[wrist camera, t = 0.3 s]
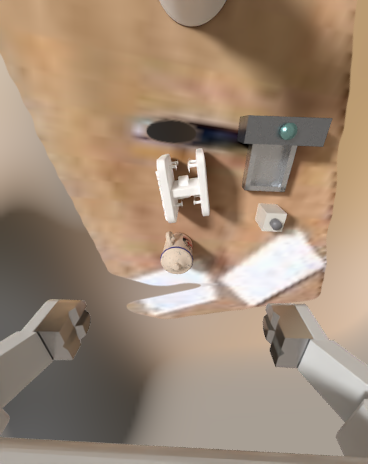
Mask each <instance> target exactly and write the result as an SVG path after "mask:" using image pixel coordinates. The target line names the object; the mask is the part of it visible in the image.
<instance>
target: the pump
mask: <svg viewBox="0 0 368 464" xmlns="http://www.w3.org/2000/svg"><path fill="white" fill-rule="evenodd" d="M286 216H287V213H286V212H285V211H284V210H282V209H281V208H280V207H279V206H278V205H277V204H264V203H259V204H258V208H257V213H256V217H255V220H256V222H257V224H258V225H259V227H260V228H261V230H262V231H275V232H282V229H283V226H284V223H285V220H286Z"/></svg>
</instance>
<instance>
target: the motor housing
mask: <svg viewBox="0 0 368 464" xmlns="http://www.w3.org/2000/svg"><path fill="white" fill-rule="evenodd" d="M331 121H332V118H307V117H279V116H251V115H248V116H243V117H240V122H239V129H238V136H237V141H239V142H241V143H244V144H249V146H248V152H247V158H246V163H245V169H244V175H243V181H242V188H243V189H244V190H251V191H274V192H285V189H286V185H287V181H288V178H289V174H290V171H291V167H292V164H293V160H294V156H295V153H296V149H297V146H320V147H323V145H324V142H325V139H326V136H327V133H328V130H329V127H330V124H331Z"/></svg>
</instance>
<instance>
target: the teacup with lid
mask: <svg viewBox="0 0 368 464" xmlns="http://www.w3.org/2000/svg"><path fill="white" fill-rule="evenodd" d="M161 264H162V266H163V268H164V269H165V270H166V271H168V272H170V273H173V274H182V273H185V272H187V271H188V270H189V269H190V268H191V266H192V264H193V257H192V241H191V239H190V238H189V237H188V236H187V235H185V234H182V233H175V234H173V233H172V232H171V231H169V232H167V233H166V242H165V246H164V250H163V253H162V255H161Z"/></svg>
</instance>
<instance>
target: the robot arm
mask: <svg viewBox="0 0 368 464" xmlns="http://www.w3.org/2000/svg"><path fill="white" fill-rule="evenodd" d="M159 1H160V3H161V5H162V7H163V8H164V10H165V11H166V12H167V14H168V15H169V16H170V17H171V18H172V19H173V20H175V21H176V22H178V23H180V24H182V25H185V26H199V25H202V24H204V23H206V22H208V21H210V20H211V19H212V18H213V17H214V16H216V14H217V13H218V12H219V11H220V10H221V8H222V7H223V5H224V3H225V2H226V0H159ZM86 307H87V305H86V303H85V301H82V300H59V299H50V300H48V301H46V302H45V304H44V305H43V306H42V307H41V308H40V310H39V311H38V312H37V313H36V314H35V315H34V316H33V318H32V319H31V320H30V321H29V322H28V323H27V325H26V326H25V327H24V328H23V329H22V330H21V332H15V333H14V334H12V335H11V336H9V337H7V338H6V339H4V340H2V341H1V342H0V435H1V433H2V432H3V430H4V429H5V427H6V425H7V424H8V422H9V420H10V419H9V415H8V414H7V413H6V412H5V411H4V410H3V409H2V408H3V407H4V406H5V405H6V404H7V403H8V402H9V401H10V400H12V399H13V398H14V397H15V396H16V395H17V394H18V393H19V392H20V391H21V390H22V389H23V388H25V387H26V386H27V385H28V384H29V383H30V382H31V381H32V380H33V379H34V378H35V377H36V376H38V375H39V374H40V373H41V372H42V371H43V370H44V369H45V368H46V367H47V366H48V365H49V364H51V362H53V360H73V359H74V357H75V355H76V353H77V351H78V349H79V347H80V346H81V341H80V339H81V338H83V337H84V336H85V335H86V334H87V332H88V330H89V327H90V323H91V317H90V314H89V312H87V311H86V310H85V308H86ZM266 312H267V315H265V316H264V319H263V330H264V335H265V338H266V340H267V341H268V342H269V343H270V344H271V347H270V352H271V356H272V358H273V361H274V364H275V367H286V368H298V371H299V372H300V373H301V374H302V375H303V376H304V377H305V378H306V380H307V381H308V382H309V383H310V384H311V385H312V386H313V387H314V388H315V390H317V392H318V393H319V394H320V395H321V396H322V397H323V399H324V400H325V401H326V402H327V403H328V404H329V405H330V406H331V407H332V409H334V411H335V412H336V413H337V414H338V415H339V416H340V417H341V419H342V420H343V421H344V422H345V424H344V425H343V426H342V427H341V428H340V430H339V431H338V432H337V435H336V439H337V441H338V443H339V445H340V447H341V450H342V452H343V454H344V456H330V455H312V454H294V453H276V452H258V451H240V450H222V449H204V448H186V447H168V446H149V445H132V444H114V443H97V442H79V441H59V440H42V439H24V438H5V437H0V464H368V365H366V364H365V363H364V362H363V361H361V360H360V359H359V358H357V357H356V356H354V355H353V354H352V353H350V352H349V351H348V350H346V349H345V348H343V347H342V346H341V345H339V344H338V343H337V342H335V341H334V340H329V339H328V337H327V336H326V334H325V333H324V331H323V329H322V328H321V326H320V325H319V323H318V322H317V320H316V319H315V317H314V315H313V314H312V312H311V311H310V309H309V308H308V306H307V305H306V304H274V303H268V304H267V306H266Z"/></svg>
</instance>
